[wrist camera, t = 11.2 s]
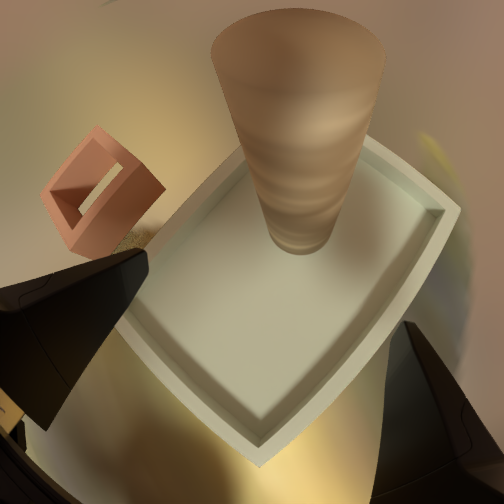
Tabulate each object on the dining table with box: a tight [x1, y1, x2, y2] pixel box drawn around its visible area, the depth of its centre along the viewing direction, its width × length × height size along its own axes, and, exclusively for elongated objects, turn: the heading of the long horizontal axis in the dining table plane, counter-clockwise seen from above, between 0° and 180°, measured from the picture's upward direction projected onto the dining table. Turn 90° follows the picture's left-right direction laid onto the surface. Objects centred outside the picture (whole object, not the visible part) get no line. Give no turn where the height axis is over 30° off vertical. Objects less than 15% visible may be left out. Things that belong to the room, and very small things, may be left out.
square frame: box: [40, 125, 166, 260], centre depth 19 cm, size 8×8×4 cm
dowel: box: [211, 8, 386, 255], centre depth 11 cm, size 4×4×12 cm
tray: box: [114, 135, 461, 468], centre depth 16 cm, size 20×14×2 cm
